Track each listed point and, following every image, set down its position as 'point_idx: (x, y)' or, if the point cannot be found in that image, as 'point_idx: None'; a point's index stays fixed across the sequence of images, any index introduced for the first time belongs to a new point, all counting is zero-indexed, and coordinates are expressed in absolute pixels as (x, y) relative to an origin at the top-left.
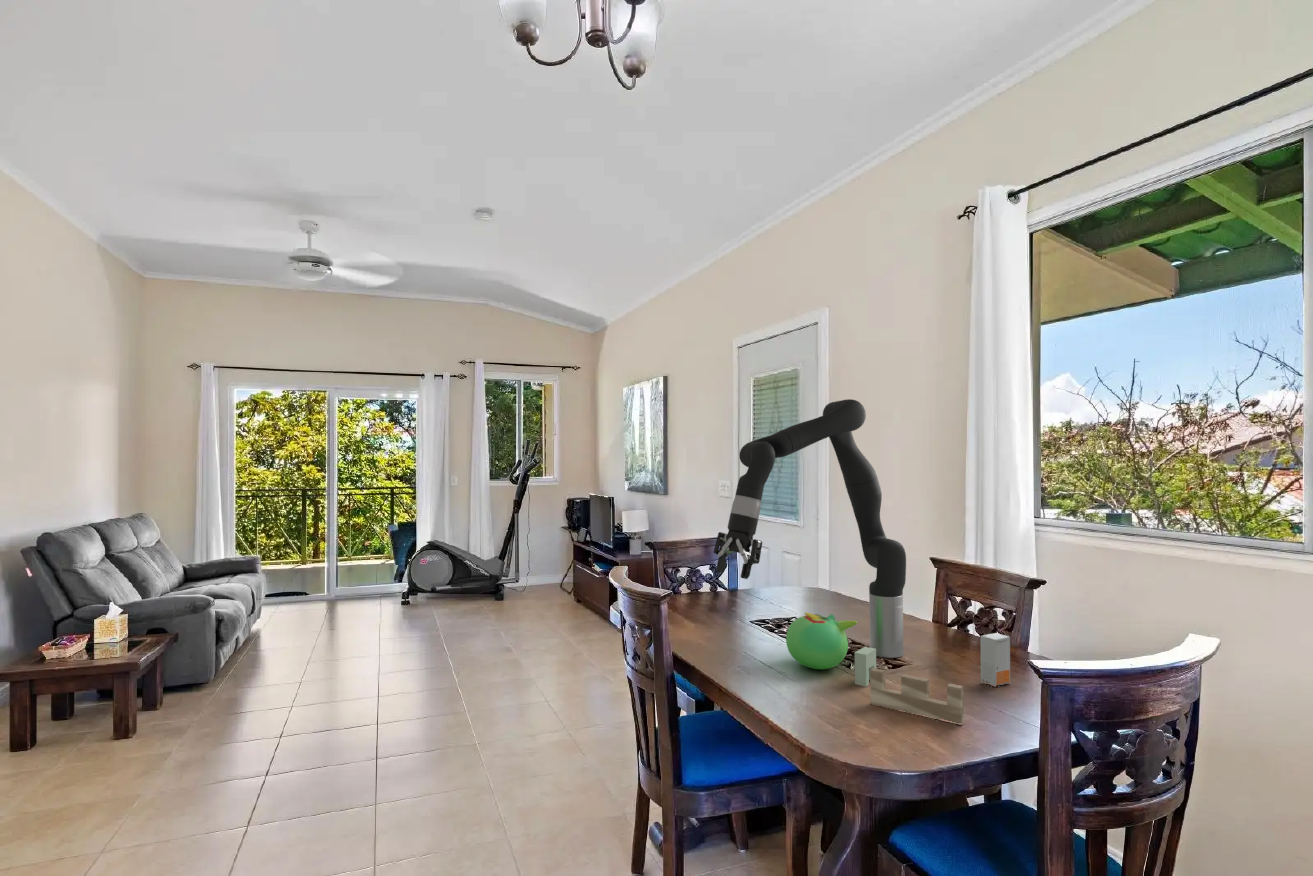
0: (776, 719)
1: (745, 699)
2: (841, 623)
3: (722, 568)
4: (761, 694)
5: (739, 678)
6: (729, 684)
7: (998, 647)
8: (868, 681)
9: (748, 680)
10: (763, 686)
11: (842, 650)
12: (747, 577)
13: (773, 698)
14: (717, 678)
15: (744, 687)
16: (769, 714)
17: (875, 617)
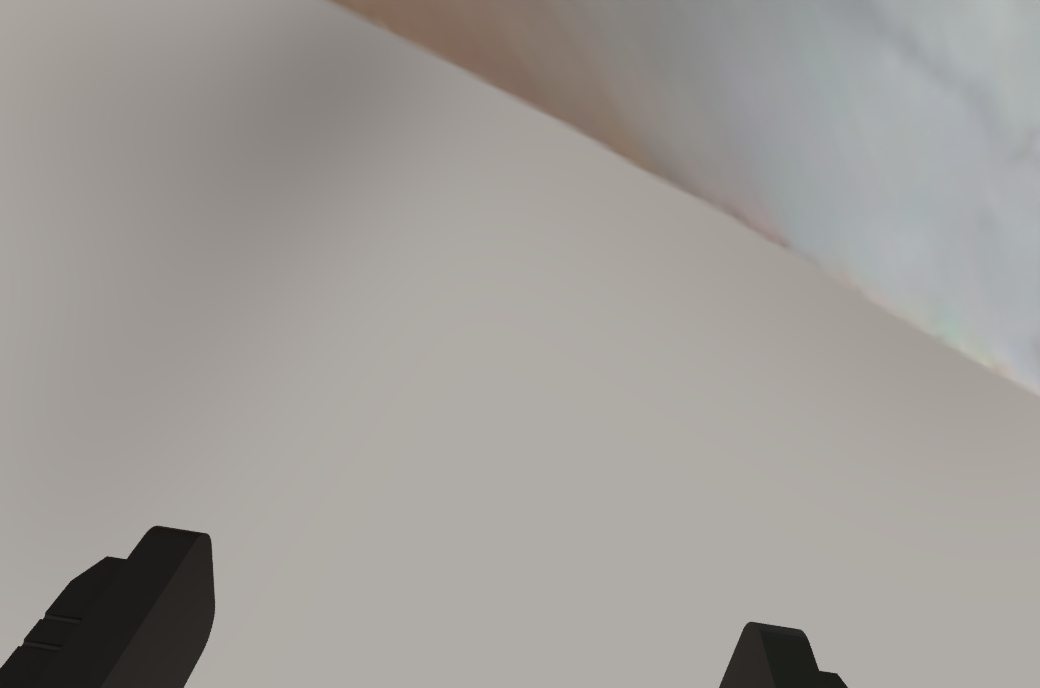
0: (1033, 374)
1: (823, 266)
2: None
3: (177, 626)
4: (880, 172)
5: (652, 19)
6: (654, 142)
7: None
8: None
9: (719, 16)
10: (849, 55)
11: None
12: (800, 649)
13: (963, 186)
14: (545, 99)
15: (750, 134)
16: (989, 348)
17: None
